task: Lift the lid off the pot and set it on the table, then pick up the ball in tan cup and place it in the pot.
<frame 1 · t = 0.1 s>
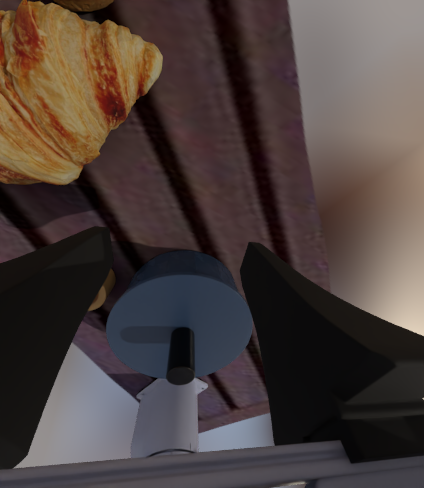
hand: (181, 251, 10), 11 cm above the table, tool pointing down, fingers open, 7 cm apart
croissant: (49, 119, 15), on the table
ball in tan cup: (92, 276, 22), on the table
lid: (183, 331, 19), point 5 cm above the table, touching pot
pot: (184, 296, 24), on the table
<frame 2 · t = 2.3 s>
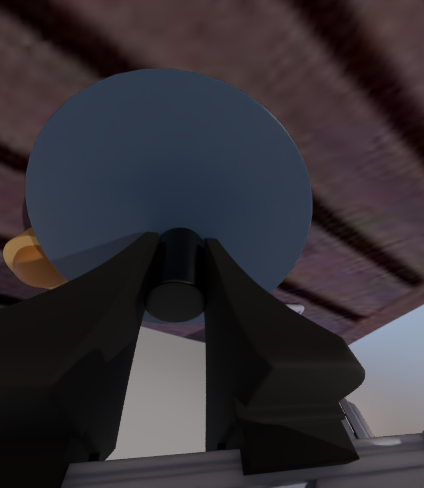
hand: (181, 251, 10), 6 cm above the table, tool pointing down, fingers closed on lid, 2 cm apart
ball in tan cup: (66, 245, 16), on the table
lid: (182, 241, 11), point 5 cm above the table, touching gripper, pot
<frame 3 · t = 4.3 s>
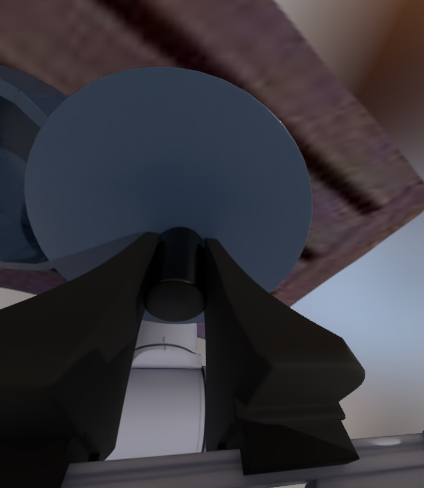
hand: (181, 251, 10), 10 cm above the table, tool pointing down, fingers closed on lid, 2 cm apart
lid: (182, 240, 11), point 9 cm above the table, touching gripper
pot: (41, 171, 16), on the table
when the fingers open (2 cm above the table, at t = 6.7 s): lid stays where it is, point 1 cm above the table.
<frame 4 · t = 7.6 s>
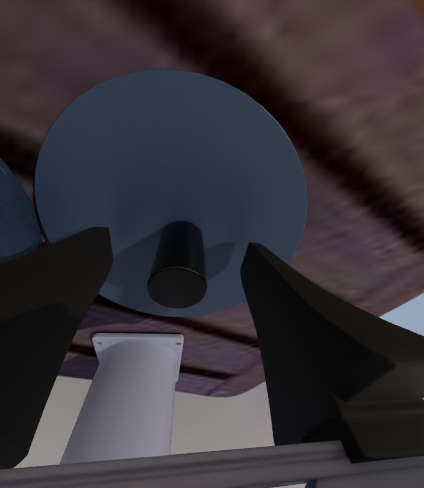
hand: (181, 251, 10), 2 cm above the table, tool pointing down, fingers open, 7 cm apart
lid: (182, 234, 11), point 1 cm above the table
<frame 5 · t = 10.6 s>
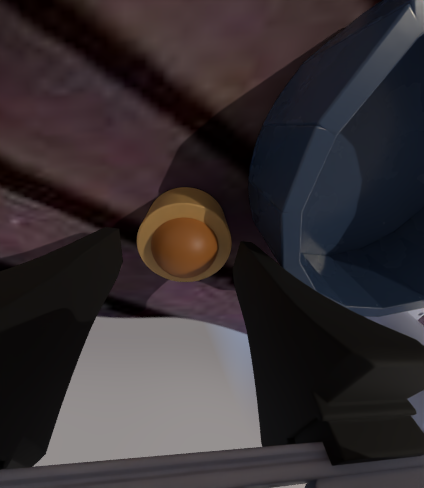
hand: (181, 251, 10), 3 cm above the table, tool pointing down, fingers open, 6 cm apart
ball in tan cup: (187, 225, 13), on the table
pot: (356, 172, 11), on the table
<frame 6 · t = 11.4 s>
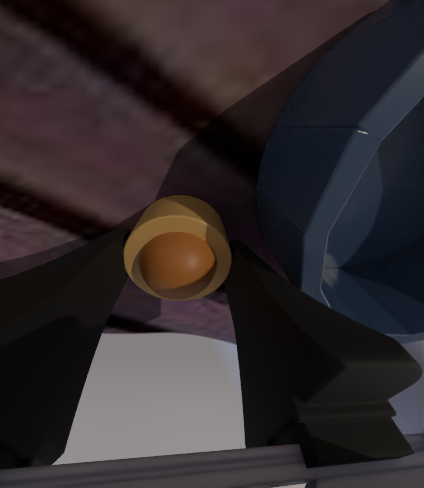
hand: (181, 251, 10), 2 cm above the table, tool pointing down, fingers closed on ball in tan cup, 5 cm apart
ball in tan cup: (182, 236, 11), on the table, touching gripper
pot: (376, 179, 10), on the table
when the fingers open (2 cm above the table, at t = 15.8 s): ball in tan cup stays where it is, resting on pot.
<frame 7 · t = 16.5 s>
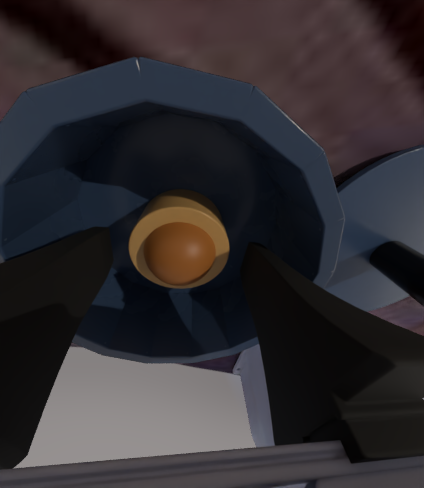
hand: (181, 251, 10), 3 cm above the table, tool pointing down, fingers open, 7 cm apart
ball in tan cup: (183, 228, 12), resting on pot
lid: (379, 250, 14), point 1 cm above the table
pot: (183, 225, 12), on the table
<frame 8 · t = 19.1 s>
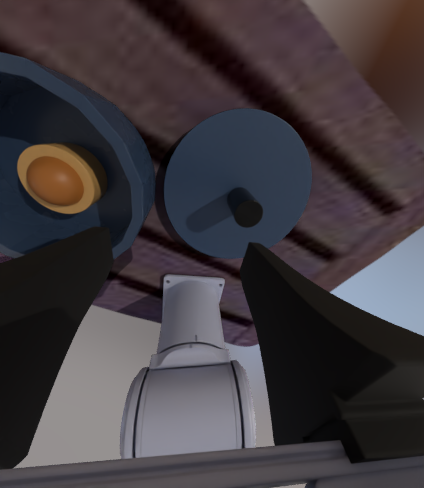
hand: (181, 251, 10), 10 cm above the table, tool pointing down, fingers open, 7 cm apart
ball in tan cup: (76, 175, 17), resting on pot
lid: (237, 197, 19), point 1 cm above the table
pot: (79, 174, 17), on the table
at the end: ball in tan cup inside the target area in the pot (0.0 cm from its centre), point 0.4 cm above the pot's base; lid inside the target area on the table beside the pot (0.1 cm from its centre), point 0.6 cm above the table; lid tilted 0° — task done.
